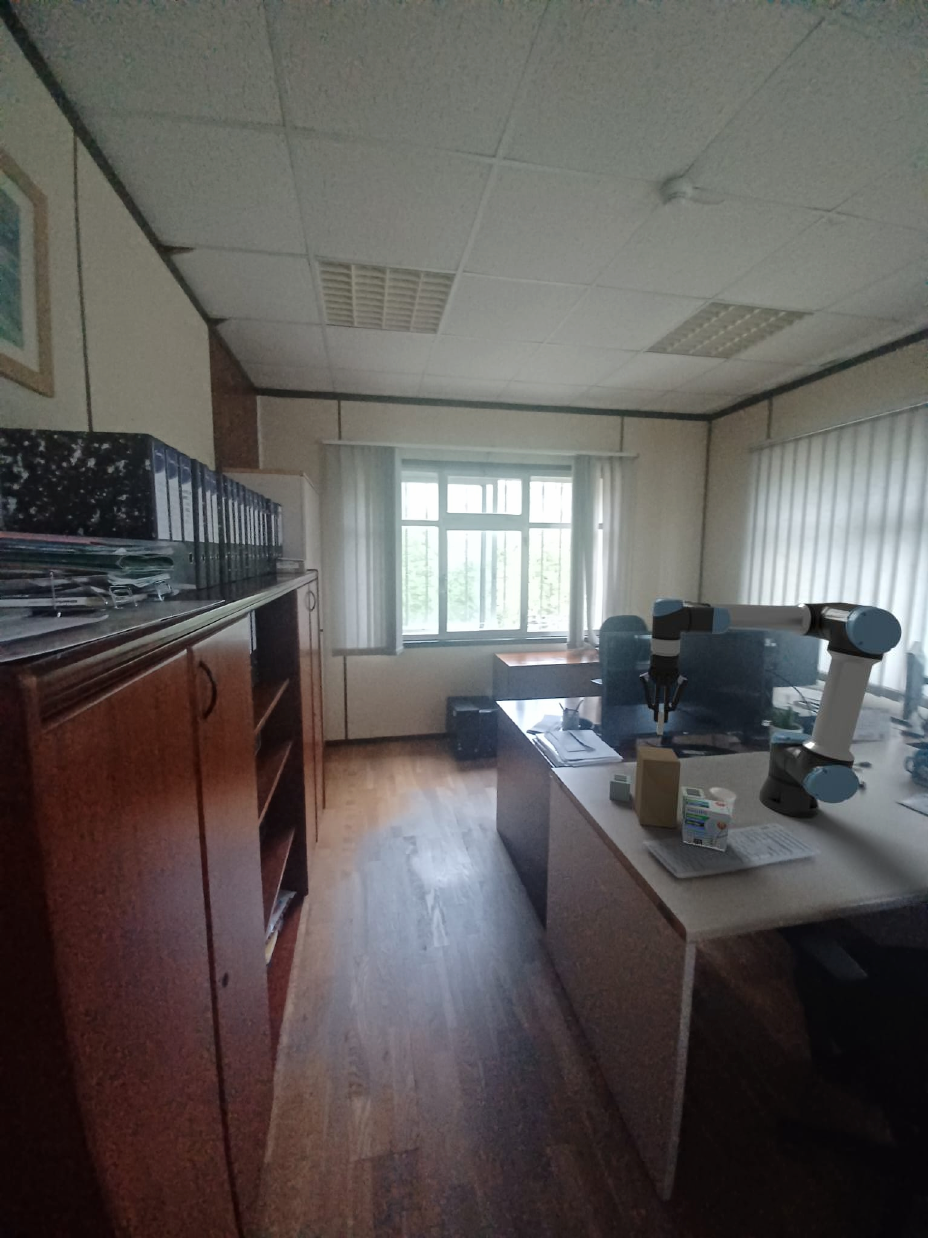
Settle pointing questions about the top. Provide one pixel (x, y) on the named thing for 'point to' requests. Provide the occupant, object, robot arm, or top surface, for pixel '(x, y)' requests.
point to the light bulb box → (705, 822)
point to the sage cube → (692, 793)
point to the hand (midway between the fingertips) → (659, 732)
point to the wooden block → (657, 786)
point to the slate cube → (619, 787)
